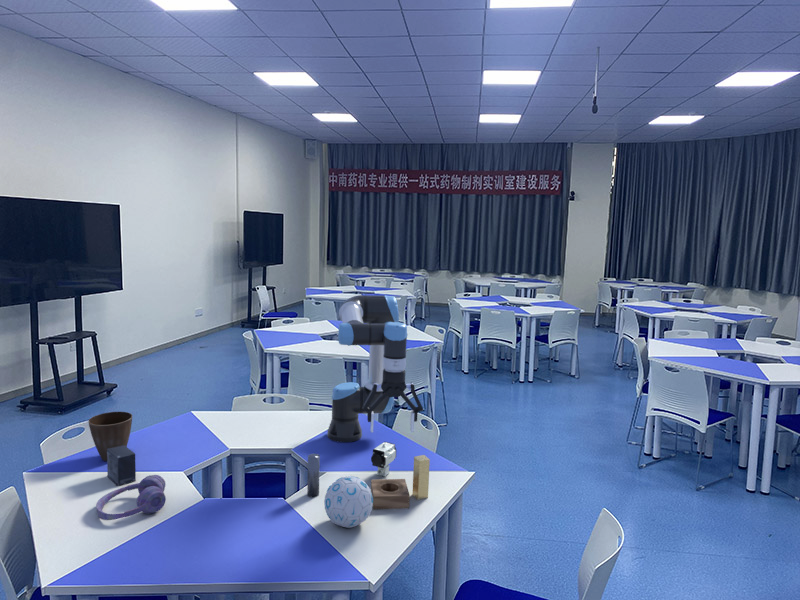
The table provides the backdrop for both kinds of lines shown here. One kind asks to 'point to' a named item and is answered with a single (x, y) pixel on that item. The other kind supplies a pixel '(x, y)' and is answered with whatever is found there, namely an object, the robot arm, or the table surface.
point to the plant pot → (110, 431)
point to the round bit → (313, 475)
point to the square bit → (421, 477)
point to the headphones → (147, 500)
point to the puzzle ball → (348, 501)
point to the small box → (121, 465)
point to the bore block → (390, 494)
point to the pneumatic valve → (383, 457)
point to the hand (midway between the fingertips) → (391, 430)
